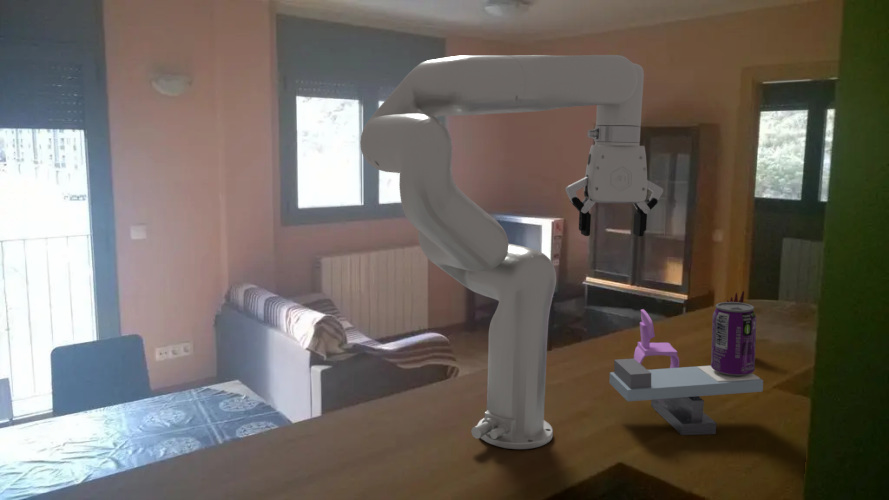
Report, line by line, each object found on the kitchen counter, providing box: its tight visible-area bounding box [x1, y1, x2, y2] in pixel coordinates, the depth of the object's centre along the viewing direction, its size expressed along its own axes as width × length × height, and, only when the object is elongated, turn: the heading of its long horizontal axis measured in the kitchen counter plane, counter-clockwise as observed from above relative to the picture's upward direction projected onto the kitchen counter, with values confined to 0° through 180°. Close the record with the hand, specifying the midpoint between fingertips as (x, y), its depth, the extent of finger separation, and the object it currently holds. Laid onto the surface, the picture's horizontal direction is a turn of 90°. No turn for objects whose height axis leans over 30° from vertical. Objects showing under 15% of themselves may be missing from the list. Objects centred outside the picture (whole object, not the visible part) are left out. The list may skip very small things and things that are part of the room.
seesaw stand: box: [650, 396, 717, 436], centre depth 123 cm, size 6×13×6 cm, turn 6°
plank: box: [609, 357, 764, 402], centre depth 122 cm, size 24×9×4 cm, turn 96°
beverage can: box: [710, 301, 757, 377], centre depth 122 cm, size 7×7×12 cm
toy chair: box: [633, 308, 680, 368], centre depth 142 cm, size 8×9×15 cm
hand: (611, 235), depth 123 cm, fingers open, 9 cm apart
